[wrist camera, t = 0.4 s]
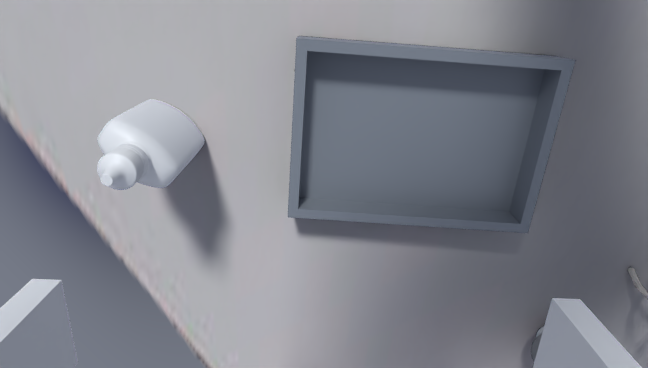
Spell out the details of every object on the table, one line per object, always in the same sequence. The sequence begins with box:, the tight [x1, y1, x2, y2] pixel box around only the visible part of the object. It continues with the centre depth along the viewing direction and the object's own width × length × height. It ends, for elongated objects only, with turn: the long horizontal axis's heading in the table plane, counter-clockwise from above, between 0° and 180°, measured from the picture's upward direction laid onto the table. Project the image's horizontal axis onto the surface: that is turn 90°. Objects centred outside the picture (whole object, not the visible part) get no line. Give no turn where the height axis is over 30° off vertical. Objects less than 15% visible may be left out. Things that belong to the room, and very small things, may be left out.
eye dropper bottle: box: [97, 99, 205, 190], centre depth 31 cm, size 4×6×12 cm
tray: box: [288, 36, 575, 233], centre depth 35 cm, size 14×20×3 cm
